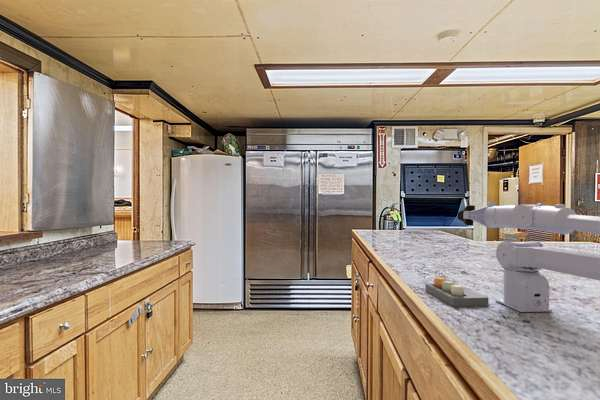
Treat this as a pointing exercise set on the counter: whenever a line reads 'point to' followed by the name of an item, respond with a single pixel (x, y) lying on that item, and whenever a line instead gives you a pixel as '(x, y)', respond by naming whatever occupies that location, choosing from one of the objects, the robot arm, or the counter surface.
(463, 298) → the panel
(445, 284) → the button sage
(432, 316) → the counter surface
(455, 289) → the button ivory
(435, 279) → the button orange
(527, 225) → the robot arm
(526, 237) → the candy box
